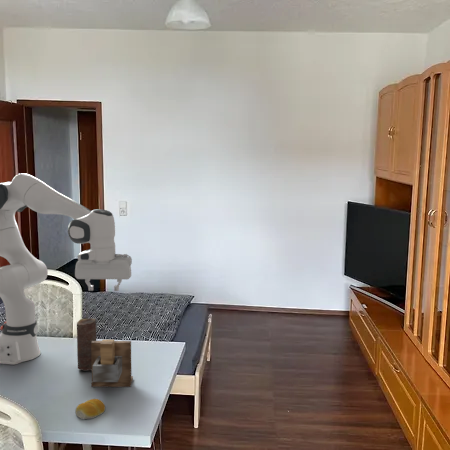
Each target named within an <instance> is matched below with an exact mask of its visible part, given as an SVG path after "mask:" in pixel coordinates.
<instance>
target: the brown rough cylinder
mask: <svg viewBox="0 0 450 450" xmlns="http://www.w3.org/2000/svg"><path fill="white" fill-rule="evenodd" d="M92 341H97V320H96V318H93V317H92V318H80V319H79V320H78V321H76V346H77V349H76V350H77V351H76V352H77V354H76V355H77V356H76V357H77V369H78V370H82V371H85V372H86V371H87V372H88V371H92V358H91V342H92Z"/></svg>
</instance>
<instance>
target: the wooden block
mask: <svg viewBox="0 0 450 450" xmlns="http://www.w3.org/2000/svg"><path fill="white" fill-rule="evenodd" d="M101 341H102V342H101V344H100V355H101V365H115V356H114V341H115V339H102V340H101Z"/></svg>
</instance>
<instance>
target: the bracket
mask: <svg viewBox="0 0 450 450" xmlns="http://www.w3.org/2000/svg"><path fill="white" fill-rule="evenodd" d="M101 342H102V340H96V341H92V342H91V358H92V370H91V388H92V387H93V388H95V387H96V388H99V387H100V388H101V387H104V388H105V387H106V388H109V387H111V388H122V387H123V388H131V386H132V383H133V380H134V376H133V375H132V340H114V356H115V365H101V355H100V344H101Z"/></svg>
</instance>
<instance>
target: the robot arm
mask: <svg viewBox="0 0 450 450" xmlns="http://www.w3.org/2000/svg"><path fill="white" fill-rule="evenodd" d="M26 208H29V209H30V210H31V211H34V212H36V213H38V214H41V215H62V216H66V217H70V218H71V219H72V220H71V221H70V222H69V223H68V227H67V235H68V237H69V239H70V240H71V241H72V242H73V244H79V245H83V244H90V248H89V249H86V250H83V251H81V252H79V253H78V255H77V261H76V263H75V269H74V277H75V278H76V279H77V280H84V282H85V284H86V285H87V288H88V292H93V291H94V284H91V282H90V281H91V280H116V283H117V284H115V285H114V286H113V288H114V289H113V291H114V292H119V291H120V285H121V283H122V282H123V280H129V279H130V278H131V277H132V267H131V266H132V264H133V263H132V260H133V259H132V257H131V256H130V255H128V254H127V253H124V254H123V253H122V254H120V253H116V243H115V236H116V222H115V217H114V215H113V213H112V212H111V211H109V210H106V209H99V208H97V209H93V210H91V209H89V208H87V207H86V206H84V205H82V204H80V203H79V202H77V201H75V200H74V199H72V198H70V197H68V196H66V195H64V194H62V193H61V192H59V191H57V190H55V189H54V188H53V187H51V186H50V185H48V184H46V183H45V182H44V181H42V180H41V179H39V178H37V177H35V176H33V175H31V174H29V173H18V174H16V175H15V176H14V177H13V178H12V180H11V181H6V182H0V257H1V258H4V259H6V260H7V262H8V263H9V264H7V265H3V266H0V299H1V300H2V302H3V305H4V309H5V319H6V320H5V321H4V323H3V324H2V325H1V326H0V331H1V332H0V364H2V365H12V366H13V365H17V364H21V363H23V362H28V361H31V360H34V359H36V358H38V357H39V356H40V355H41V353H42V352H41V349H40V346H39V343H38V342H39V341H38V337H37V336H38V335H37V334H38V325H37V324H38V323H37V320H36V305H35V302H34V301H33V300H32V299H30V298H29V297H26V294H25V289H29V288H32V287H35V286H37V285H40V284H41V283H43V282H44V281H45V280H46V279H47V277H48V267H47V265H46V264H45V262H43V261H42V260H41V259H37V257H35V256H34V255H33V254H32V253H31V252H30V251H29V250H28V248H27V247H26V245H25V243H24V240H23V237H22V235H21V232H20V229H19V226H18V223H17V221H16V217H15V215H16V213H17V212H19V213H21V212H23V211H24V210H25V209H26Z"/></svg>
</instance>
